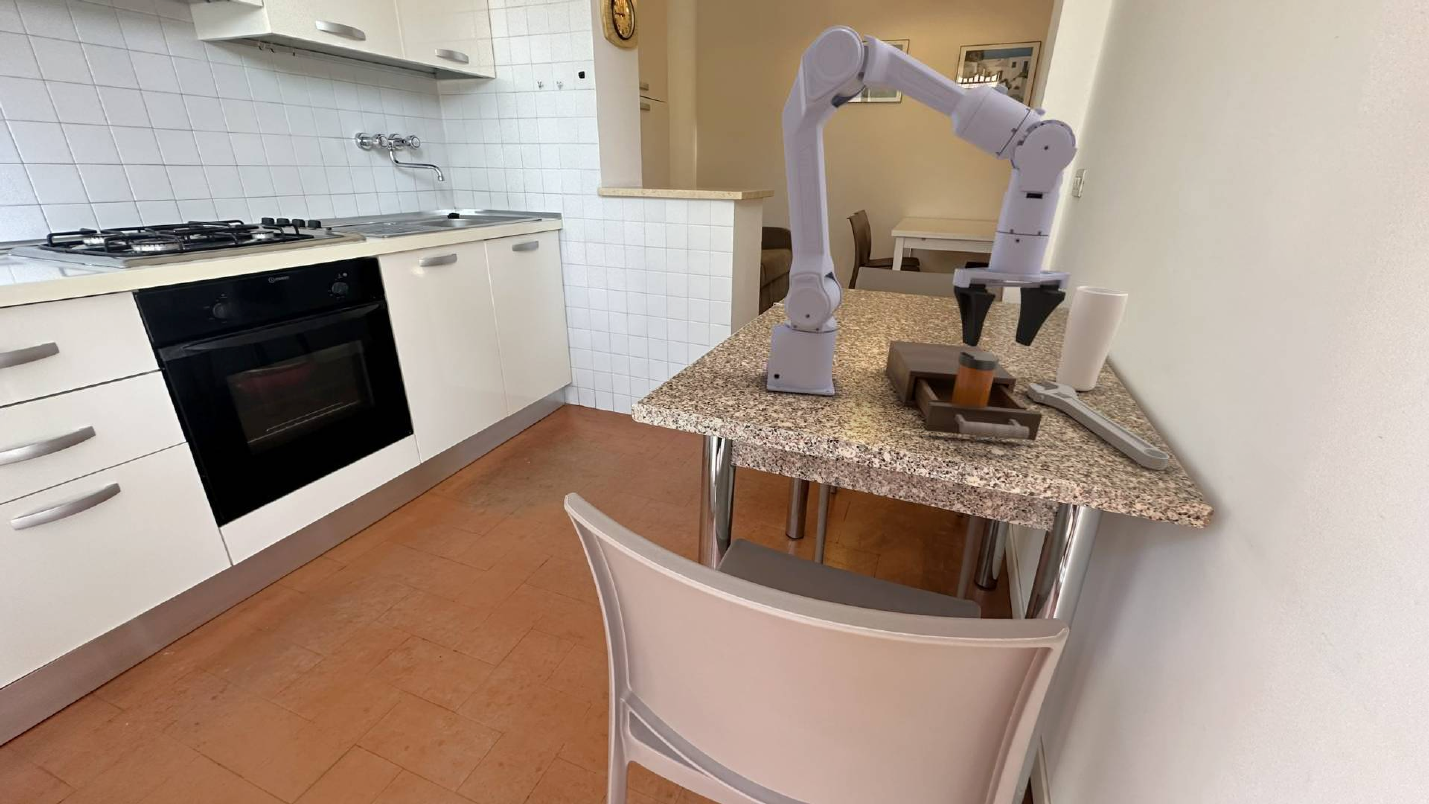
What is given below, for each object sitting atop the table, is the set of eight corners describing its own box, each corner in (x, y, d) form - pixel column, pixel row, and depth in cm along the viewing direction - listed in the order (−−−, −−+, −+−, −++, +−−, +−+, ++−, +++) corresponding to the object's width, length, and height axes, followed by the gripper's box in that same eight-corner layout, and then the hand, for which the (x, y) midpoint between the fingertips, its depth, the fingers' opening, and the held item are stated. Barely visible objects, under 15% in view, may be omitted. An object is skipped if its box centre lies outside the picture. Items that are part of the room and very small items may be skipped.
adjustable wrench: (1171, 472, 63) (1177, 457, 62) (1111, 468, 63) (1116, 453, 63) (1061, 392, 86) (1064, 381, 85) (1017, 389, 86) (1020, 378, 86)
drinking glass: (1052, 376, 93) (1077, 284, 88) (1100, 386, 90) (1130, 290, 84) (1046, 386, 88) (1073, 289, 83) (1098, 397, 85) (1129, 296, 79)
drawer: (1049, 455, 63) (1057, 428, 62) (934, 445, 64) (939, 418, 63) (993, 397, 80) (999, 374, 79) (903, 389, 81) (907, 367, 80)
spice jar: (954, 413, 70) (965, 359, 68) (944, 400, 75) (955, 348, 72) (991, 416, 70) (1005, 362, 67) (980, 403, 74) (992, 351, 72)
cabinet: (1007, 415, 76) (1016, 379, 74) (903, 406, 78) (910, 370, 76) (972, 377, 91) (979, 346, 89) (885, 370, 92) (890, 340, 90)
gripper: (988, 234, 63) (963, 353, 68) (1101, 238, 65) (1069, 352, 70) (952, 229, 69) (931, 338, 74) (1056, 232, 72) (1029, 337, 77)
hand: (996, 344), depth 73 cm, fingers open, 7 cm apart
